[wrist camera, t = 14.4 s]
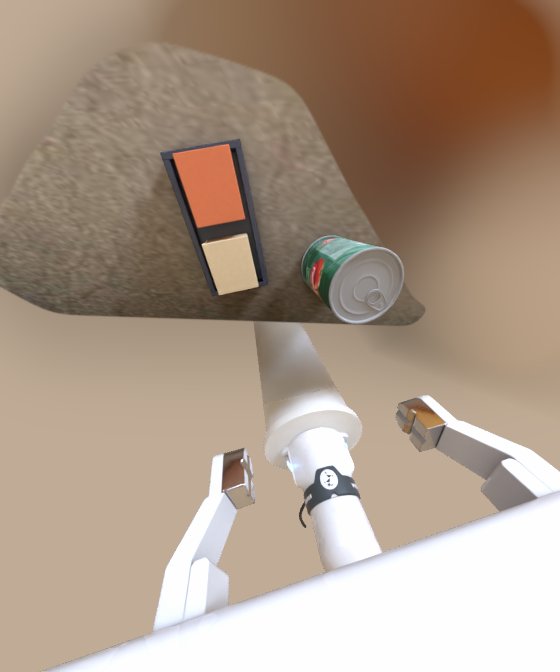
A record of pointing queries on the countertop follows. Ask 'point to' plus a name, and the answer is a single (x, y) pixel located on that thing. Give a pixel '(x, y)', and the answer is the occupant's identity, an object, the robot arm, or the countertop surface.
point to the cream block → (231, 263)
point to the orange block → (210, 185)
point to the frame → (222, 229)
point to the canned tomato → (353, 277)
